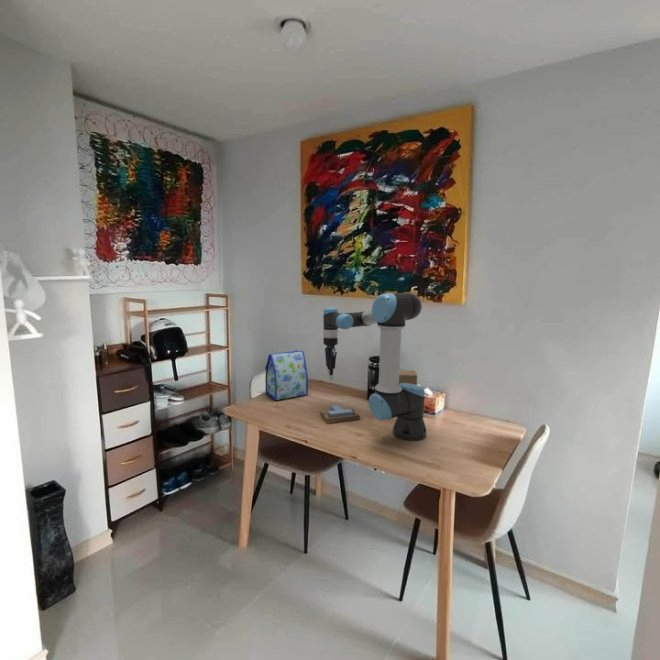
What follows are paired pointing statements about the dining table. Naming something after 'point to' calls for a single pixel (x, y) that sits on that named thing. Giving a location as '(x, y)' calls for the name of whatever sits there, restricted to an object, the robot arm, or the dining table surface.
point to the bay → (340, 417)
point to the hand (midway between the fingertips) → (330, 380)
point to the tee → (338, 411)
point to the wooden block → (407, 376)
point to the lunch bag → (286, 375)
